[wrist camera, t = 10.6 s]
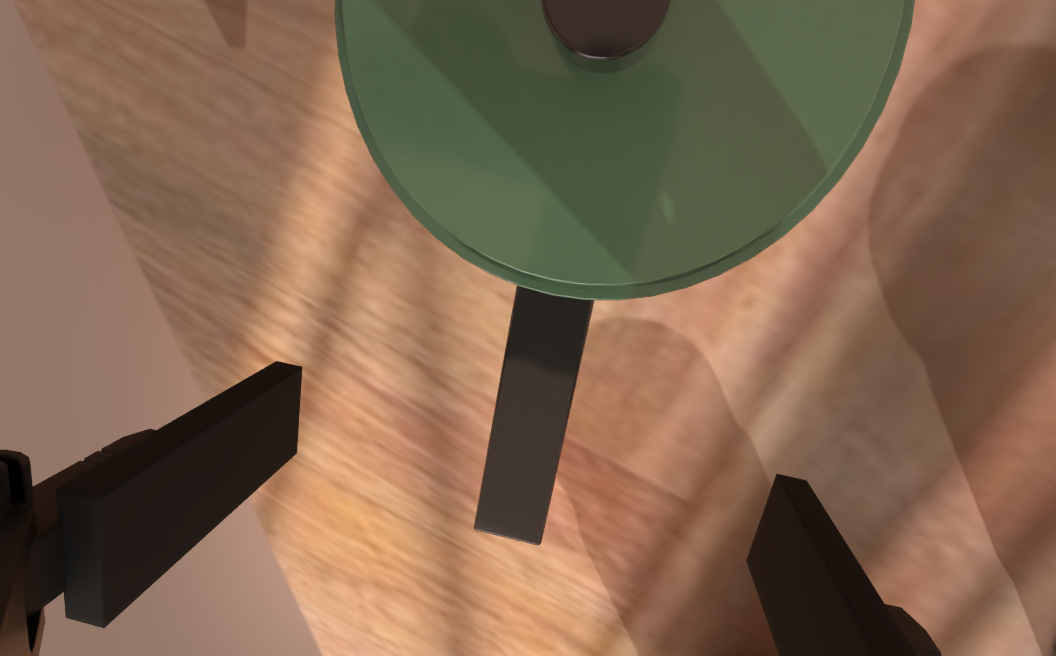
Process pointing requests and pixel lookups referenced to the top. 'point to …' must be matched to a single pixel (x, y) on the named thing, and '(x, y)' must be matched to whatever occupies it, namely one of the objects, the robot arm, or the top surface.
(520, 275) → the pot
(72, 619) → the robot arm
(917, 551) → the top surface
